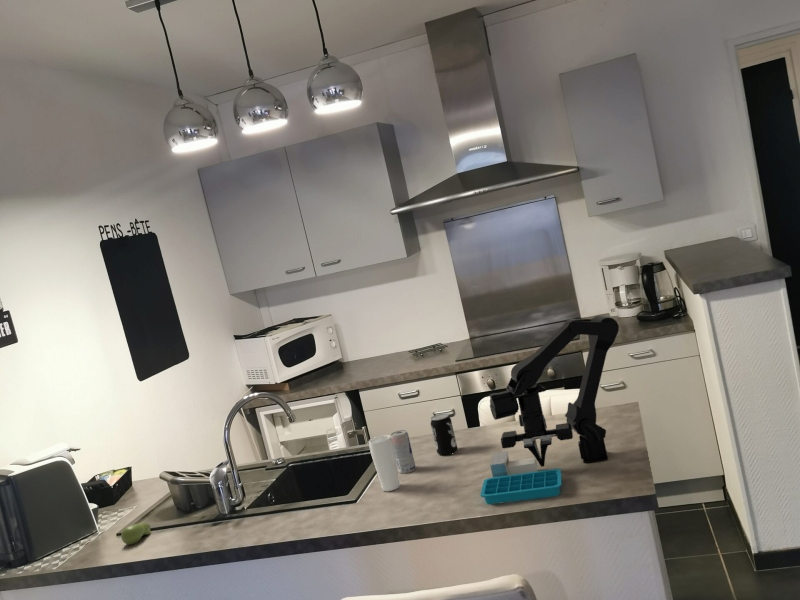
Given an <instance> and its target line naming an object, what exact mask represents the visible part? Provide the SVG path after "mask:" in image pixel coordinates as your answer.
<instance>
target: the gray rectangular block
mask: <svg viewBox="0 0 800 600" xmlns="http://www.w3.org/2000/svg"><path fill="white" fill-rule="evenodd" d="M509 461H511V460H510V457H509V452H508V450H505V451H500V452H493V454H492V457H491V460H490V464H489V465H490V470H491V471H490V472H491V474H492V478H493V477H500V476H508V475H509V474H508V470H507V465H506V462H509Z"/></svg>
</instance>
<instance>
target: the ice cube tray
mask: <svg viewBox="0 0 800 600" xmlns="http://www.w3.org/2000/svg"><path fill="white" fill-rule="evenodd" d="M560 487H562V470H561V469H560V468H552V469H545V470H544V469H543V470H538V471H537V472H530V473H522V474H515V475H508V476H500V477H493V476H492V477H488V478H486V479H484V480H483V482H482V487H481V491H480V495H479V496H480V497H481V498H484V501H485V504H486V503H487V504H486V505H494V504H493V503H498V504H501V503H500V502H506V503H509V502H508V501H513V502H518V500H521V501H528V499H529V500H535V499H536V500H537V499H543V498H549V497H551V498H552V497H557V496H559V495H560V491H561V490H560Z"/></svg>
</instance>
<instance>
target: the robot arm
mask: <svg viewBox="0 0 800 600" xmlns="http://www.w3.org/2000/svg"><path fill="white" fill-rule="evenodd" d="M619 331H620V325H619V323H618V322H617V320H616V319H614V318H613V317H610V316H604V315H595V316H594V317H592V318H580V319H574V318H568V319H566V320H565V321H564V323H563V324H562V326H561V327H560V328H558V330H557V331H555V332H554V334H552V335H551V337H549V338H548V339H547V340H546V341H545V342H544V343H543V344H542V345H541V346H540V347H539V348H538V349H537V350H536V351H535V352H534V353H533V354H531V355H530V356H527V357H525V358H523V359H522V360H520V361H519V362H517V363H516V364H515V365H514V366H512V368H511V370H510V379H509V381H508V383H507V386H506V387H505V390H504V391H500V392H494V393H490V394H489V408H490V411H491V415H492V417H493V419H494V421H495V420H496V421H498V420H500V419H505V418H508V417H513V416H516V415H517V413H519V411H520V414H518V421H519V426H520V427H523V431H524V433H517V431H516V430H510V431H504V432H502V433H501V436H500V437H501V438H500V444H501V447H502V449H509V448H515V446H516V444H517V443H519V442H522V443H523V448H524V449H528V451H529V452H530V453H531V454H532V455H533V456H534V458H536V462H537V463H538V464H539V466H540V467H541V468H542V467H545V461H546V454H547V451H548V446H552V442H553V441H552V440H553V438H554V437H556V439H558V440H559V441H567V440H572V439H574V435H573V431H574V432H576V434H577V435H579V436H578V438H579V441H578V443H577V444H578V449H579V453H580V458H581V459H582V460H583V461H582V463H583V464H588V463H595V462H602V461H608V460H609V455H608V450H607V448H606V443H605V438H606V436H607V435H606V433H607V430H606V428H603V427H602V426H601V425H599V424H597V409H596V399H597V396H598V391H599V387H600V383H601V378H602V376H603V375H602V374H603V370H604V366H605V361H606V358H607V354H608V351H609V350H610V348H611V347H612V346H613V345H614V344H615V341H616V338H617V336H618V333H619ZM578 335H586V336H588V344H589V348H588V349H589V350H588V354H587V357H586V362H585V365H584V370H583V373H582V378H581V382H580V387H579V391H578V395H577V398H576V400H575V401H574V402H573V403H572V402H570V401H569V402H568V404H567V410H566V413H565V414H564V417H566V423H559V424H555V428H553V429H547V428H548V426H547V421H546V417H545V415H544V412H543V409H542V408H543V407H542V401H541V399H540V393H544V392H546V391H547V388H545V387H544V386H542V385H541V384H540V383H539V382H538V381H539V380H540V378H541V377H542V375H543V374H544V371H545V369H546V367H547V366H548V364H550V363H551V361H552V360H554V359H555V358H556V357H557V356H558V354H559V353H561V352H562V350H564V349H565V348H566V347H567V346H568V345H569V344H570V342H571V341H573V339H575V338H576V337H577V336H578ZM552 437H553V438H552ZM538 439H540V444H539V446H540V450H539V447H538V444H537V440H538Z"/></svg>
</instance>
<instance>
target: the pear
mask: <svg viewBox="0 0 800 600" xmlns="http://www.w3.org/2000/svg"><path fill="white" fill-rule="evenodd" d="M150 534H151V525H150V524H149V523H147V522H139V523H134V524H131V525H128V526H126V527H125V528H124V529H123V530H122V531H121V535H120V536H121V541H122V542H123V543H124V544H125V545H129V546H131V545H135V544H137V543H138V542H139V540H141V539H142V537H143V536H146V535H147V536H149V535H150Z"/></svg>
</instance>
